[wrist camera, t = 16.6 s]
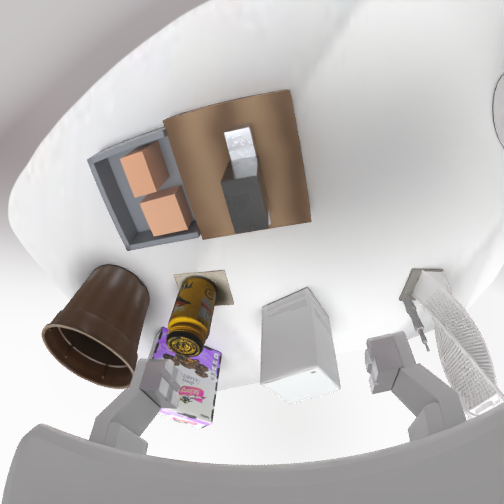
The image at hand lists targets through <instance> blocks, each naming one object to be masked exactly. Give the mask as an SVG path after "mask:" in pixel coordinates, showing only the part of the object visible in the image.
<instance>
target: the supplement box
mask: <svg viewBox="0 0 504 504" xmlns="http://www.w3.org/2000/svg"><path fill="white" fill-rule="evenodd" d="M260 384H261V385H262V386H264V387H265V388H267V389H268V390H270V391H271V392H273V393H274V394H275V395H277V396H279V397H280V398H281V399H283V400H284V401H286V402H287V403H289V404H293V403H297V402H301V401H304V400H308V399H311V398H314V397H318V396H322V395H326V394H329V393H332V392H335V391H338V390H340V389H341V388H340V380H339V374H338V368H337V362H336V356H335V350H334V345H333V339H332V334H331V328H330V323H329V318H328V316H327V314H326V313H325V311H324V310H323V308H322V307H321V305H320V304H319V303H318V301H317V300H316V298H315V297H314V296H313V294H312V293H311V291H310V290H309V289H308V288H305V289H303V290H301V291H299V292H297V293H294V294H292V295H290V296H287V297H285V298H283V299H281V300H278V301H276V302H274V303H271V304H269V305H267V306H264V307H262V338H261V373H260Z"/></svg>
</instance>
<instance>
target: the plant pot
mask: <svg viewBox="0 0 504 504" xmlns="http://www.w3.org/2000/svg"><path fill="white" fill-rule="evenodd" d="M148 305H149V294H148V291H147V289H146V287H145V286H143V285H142V284H141V283H140V281H139V279H138V278H137V277H136V276H135V275H134V274H132V273H131V272H129V271H127V270H125V269H123V268H121V267H118V266H114V265H103V266H101V267H99V268H97V269H95V270H94V271H93V272H92V273H91V275H90V276H89V277H88V279H87V280H86V281H85V282H84V284H83V285H82V286H81V287H80V289H79V290H78V291H77V292H76V294H75V295H74V296H73V298H72V299H71V300H70V302H69V303H68V304H67V305H66V307H65V308H64V309H63V310H62V311H60V312H59V313H58V314H57V315H56V317H55V318H54V319H53V321H52V322H51V323H50V324H47V325H46V326H45V327H44V329H43V330H42V338H43V341H44V343H45V345H46V347H47V349H48V350H49V351H50V353H51V354H52V355H53V356H54V357H55V358H56V359H57V360H58V361H59V362H60V363H61V364H62V365H63V366H64V367H66V368H67V369H68V370H70V371H72V372H73V373H74V374H76V375H78V376H79V377H81V378H84V379H85V380H88V381H90V382H92V383H95V384H97V385H100V386H104V387H108V388H114V389H124V388H129V387H130V383H131V380H132V377H133V374H134V371H135V368H136V363H137V358H138V355H137V349H138V344H139V340H140V336H141V331H142V327H143V323H144V319H145V316H146V312H147V308H148Z"/></svg>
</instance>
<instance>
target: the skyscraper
mask: <svg viewBox="0 0 504 504" xmlns="http://www.w3.org/2000/svg"><path fill="white" fill-rule="evenodd" d="M399 300H400V301H403V302H404V304H405V307H406V311H407V313H408V314H409V315H410V317H411V319H412V321H413V324H414V327H415V331H416V332H417V333H419V334H420V336H421V339H422V342H423V344H425V345H426V348H427V351H430V350H429V348H428V346H427V339H426V337H425V335H424V333H423V329H424V326H423V325H422V323H421V321H420V319H419V317H418V315H417V311H416V307H415V305H414V304H413V302H412V300H417V301H418V302H419V303H420V304H421V305H422V306H423V307H424V309H425V310H426V311H427V312H428V313H429V314H430V315H431V316H432V318H433V321H434V328H435V335H436V342H437V347H438V352H439V356H440V360H441V363H442V366H443V369H444V372H445V375H446V377H447V379H448V381H449V383H450V386H451V388H452V389H453V390H454V391H456V392H457V393H458V395H459V398H460V401H461V405H462V408H463V409H464V411H465V413H466V414H467V415H468V419H472V418H474V417H476V416H478V415H480V414H482V413H484V412H486V411H488V410H490V409H492V408H494V407H496V406H497V405H498V404H499V402H500V400H499V396H500V397H501V398H502V399H503V400H504V395H503V394H502V393H501V391H499V389H498V388H497V382H496V376H495V372H494V368H493V364H492V361H491V357H490V354H489V351H488V349H487V346H486V344H485V341H484V339H483V337H482V335H481V333H480V331H479V330H478V328H477V326H476V325H475V323H474V322H473V320H472V319H471V318H470V316H469V315H468V313H467V312H466V311H465V309H464V308H463V307H462V306H461V305H460V304H459V303H458V301H457V300H456V299H455V298H454V297H453V296H452V294H451V291H450V288H449V285H448V282H447V279H446V276H445V274H444V271H443V269H412V270H411V273H410V275H409V277H408V280H407V282H406V284H405V287H404V289H403V291H402V293H401V295H400V298H399ZM496 401H497V403H496V404H495V405H493V403H494V402H496Z"/></svg>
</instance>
